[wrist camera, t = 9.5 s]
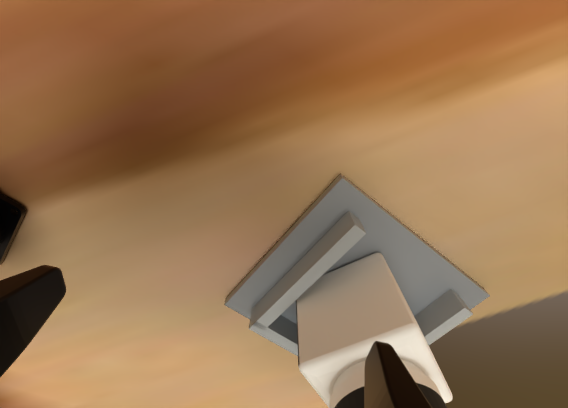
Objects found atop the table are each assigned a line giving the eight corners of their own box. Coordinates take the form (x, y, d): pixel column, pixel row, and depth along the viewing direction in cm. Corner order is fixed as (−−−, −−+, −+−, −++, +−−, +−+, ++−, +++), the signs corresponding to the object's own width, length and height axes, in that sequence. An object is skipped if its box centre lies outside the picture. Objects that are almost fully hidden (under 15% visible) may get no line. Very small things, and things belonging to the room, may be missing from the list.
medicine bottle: (293, 285, 23) (300, 480, 12) (379, 248, 22) (474, 433, 11) (331, 342, 26) (365, 544, 15) (410, 313, 24) (512, 513, 13)
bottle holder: (362, 376, 29) (370, 406, 26) (226, 297, 25) (219, 324, 22) (483, 288, 24) (507, 314, 22) (340, 173, 20) (348, 189, 17)
